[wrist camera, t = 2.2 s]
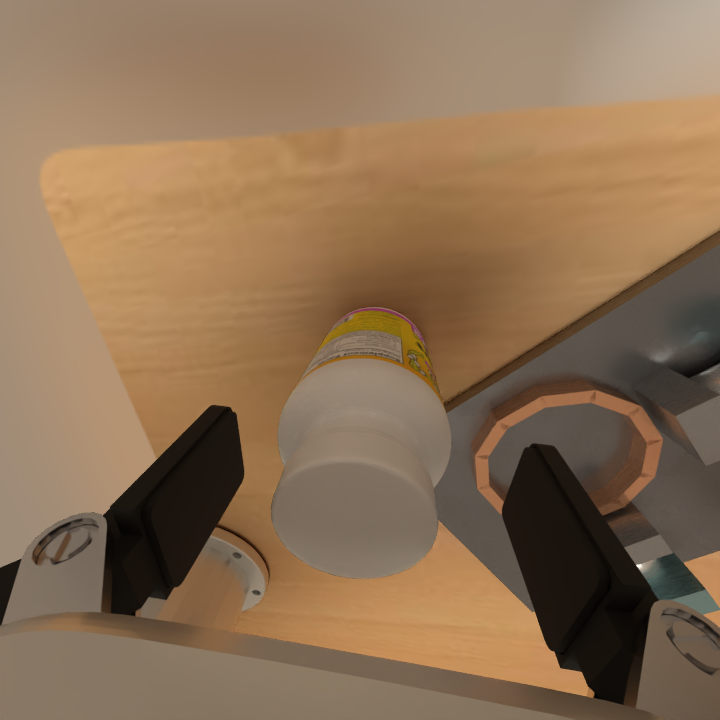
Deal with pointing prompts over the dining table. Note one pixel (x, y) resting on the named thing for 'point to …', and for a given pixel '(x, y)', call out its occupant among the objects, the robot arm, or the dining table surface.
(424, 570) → the dining table surface
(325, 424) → the supplement bottle
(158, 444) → the dining table surface
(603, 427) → the base
